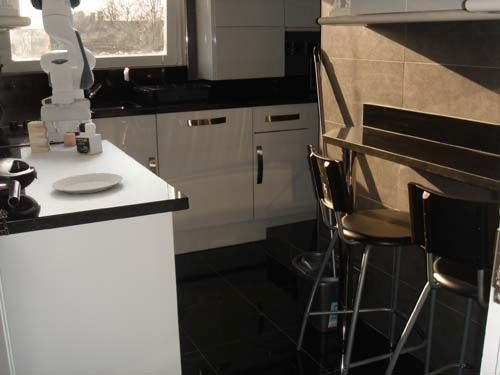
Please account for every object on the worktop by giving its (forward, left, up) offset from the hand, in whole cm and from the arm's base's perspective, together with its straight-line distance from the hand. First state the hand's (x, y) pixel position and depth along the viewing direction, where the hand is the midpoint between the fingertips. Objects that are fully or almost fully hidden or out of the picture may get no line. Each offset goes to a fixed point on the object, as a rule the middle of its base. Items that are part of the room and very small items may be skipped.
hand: (68, 131), depth 250 cm
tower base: (+8, -10, -6) cm, 14 cm away
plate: (+76, +22, -7) cm, 80 cm away
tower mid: (+8, -10, -2) cm, 13 cm away
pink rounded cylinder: (-1, 0, -6) cm, 6 cm away
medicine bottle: (+19, +12, -6) cm, 24 cm away
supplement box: (-15, -9, -6) cm, 18 cm away
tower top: (+8, -10, +2) cm, 13 cm away
